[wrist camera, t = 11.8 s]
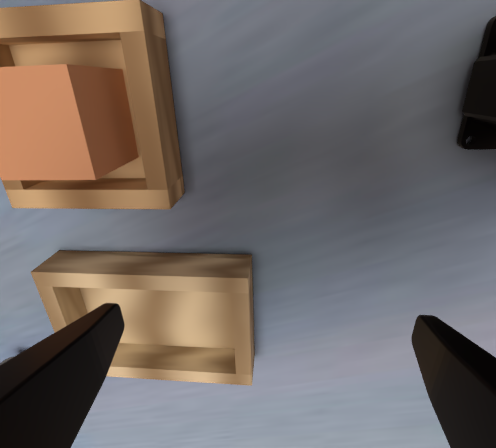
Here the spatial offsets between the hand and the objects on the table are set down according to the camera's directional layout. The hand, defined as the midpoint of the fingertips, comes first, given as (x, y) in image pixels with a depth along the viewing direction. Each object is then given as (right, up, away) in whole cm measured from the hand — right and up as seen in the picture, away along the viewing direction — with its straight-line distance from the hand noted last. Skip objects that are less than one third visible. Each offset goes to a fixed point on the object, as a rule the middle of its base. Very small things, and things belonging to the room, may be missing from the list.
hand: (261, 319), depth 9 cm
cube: (-10, +9, +9) cm, 17 cm away
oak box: (-10, +10, +10) cm, 17 cm away
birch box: (-8, -4, +16) cm, 18 cm away
